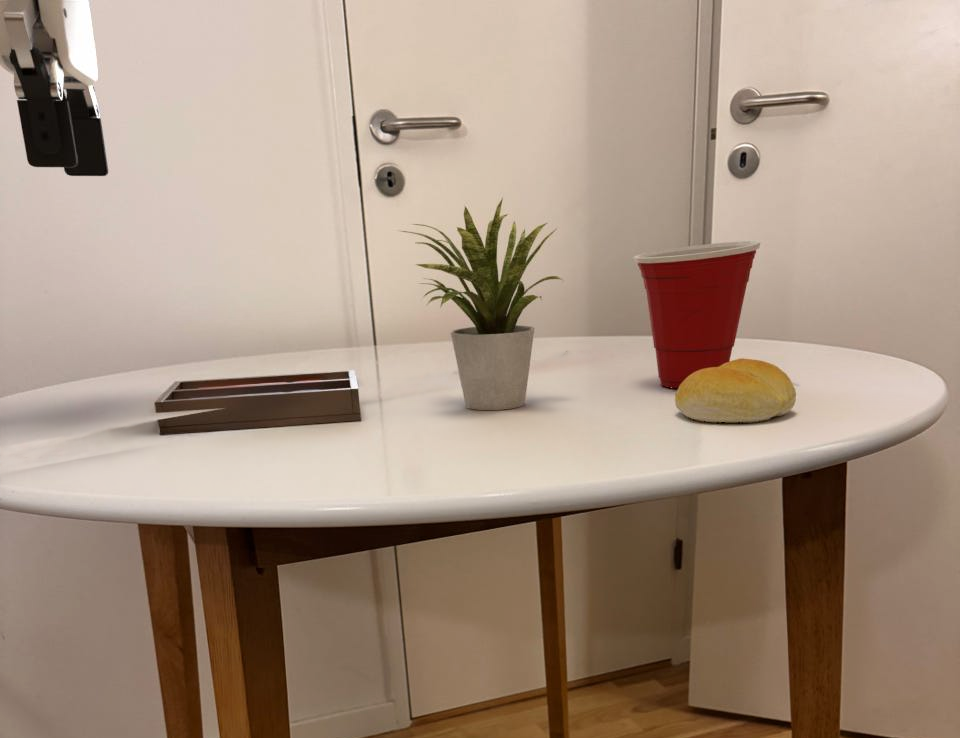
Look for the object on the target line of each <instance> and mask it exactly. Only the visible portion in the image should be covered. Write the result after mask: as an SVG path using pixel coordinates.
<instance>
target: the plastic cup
mask: <svg viewBox="0 0 960 738" xmlns="http://www.w3.org/2000/svg"><path fill="white" fill-rule="evenodd" d="M760 246H761V241H756V240H750V241H749V240H747V241H745V240H744V241H730V242H717V243H706V244H697V245H689V246H681V247H675V248H674V247H673V248H668V249H662V250H661V249H660V250H656V251H655V250H654V251H649V252H646V253H640V254H638V255H635V256H633V257H632V258H633V262H634V263H637V266H638V268H639V270H640V275H641V278H642V280H643V285H644V289H645V291H646V300H647V306H648V307H647V308H648V312H649V314H648V315H649V320H650V327H651V335H652V342H653V348H654V349H655V356H656V366H657V374H658V375H657V376H658V378H659V380H660V385H661V387H663V386H665V387H664V388H667V387H672V388H671V389H673V388H679V386H680V384H681V383H682V382H683V381H684V380H685V379H686V378H687V377H688V376H689V375H691V374H692V373H694V372H696V371H698V370H701V369H704V368H711V367H719V366H721V365H722V364H724V363H727V362H730V361H731V356H732V351H733V347H734V346H735V342H736V339H737V334H738V328H739V323H740V319H741V314H742V310H743V304H744V300H745V295H746V290H747V287H748V283H749V281H750V275H751V269H752V268H753V264H754V259H755V256H756V254H757V250H759V249H760Z"/></svg>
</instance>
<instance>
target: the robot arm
mask: <svg viewBox="0 0 960 738" xmlns="http://www.w3.org/2000/svg"><path fill="white" fill-rule="evenodd" d="M0 67H2V68H3V69H4V70H5V71H7V73H9V74H11V75H13V87H14V92H15V96H16V97H17V100H16V103H17V109H18V114H19V121H20V126H21V132H22V138H23V144H24V148H25V149H24V150H25V156H26V160H27V163H28V165H30V166H32V167H33V168H63V171H64V173H65V174H66V175H67V176H70V177H107V176H108V174H109V166H108V159H107V152H106V144H105V137H104V131H103V125H102V118H101V117H100V110H99V109H100V108H99V105H98V102H97V98H96V93H95V91H96V90H95V87H94V85H95V83H96V82H97V81H98V78H99V72H98V71H99V70H98V60H97V52H96V43H95V35H94V29H93V23H92V15H91V9H90V3H89V0H0ZM65 92H66V93H65Z"/></svg>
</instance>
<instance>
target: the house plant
mask: <svg viewBox="0 0 960 738" xmlns="http://www.w3.org/2000/svg"><path fill="white" fill-rule="evenodd" d="M503 198H504V197H503V196H502V198H501V200H500V201H499V203H498V204H497V206H496V209H495V212H494V216H493V219H491V220H490V221H489V222H488V224H487V230H486V236H485V243H484V242H483V240H482V237H481V234H480V233H479V231H478V229H477V227H476V225H475V223H474V220H473V217H472V215H471V213H470V211H469V209H468V208H467V207H466V206H464V209H463V220H464V225H465V228H462V227H458V226H456V231H457V233H458V234H459V235H460V238H461V249H462V251H463V253H464V255H465V257H466V260H467V261H468V263H469V265H470V267H469V266H468V263H467V261H466V260H465V258H464V256H463V254H462V253H461V251H460V250H459V249H458V248H457V246H456V245H455V244H454V242H453V241H452V240H451V239H450V238H449V236H447V234H445V233H444V232H443V231H441V230H439V229H437V228H436V227H434V226H430V225H427V224H418V223H412V225H414V226H420V227H421V226H422V227H427V228H431V229H433V230H435V231H436V232H438V234H440V235H442V237H443V238H444V239H445V240H443V239H436V238H434V237H431V236H429V235H426V234H423V233H419V232H414V231H407V230H401V232H403V233H407V234H408V233H409V234H414V235H417V236H421V237H424V238H426V239H427V240H429V241H432V242H433V243H434V244H432V243H430V242H423V241H419V242H416V244H417V245H418V244H420V245H421V244H422V245H426V246H428V247H429V248H431V249H433V250H434V251H435V252H437V253H438V254H439V255H440V256H441V257H442V258H443V259H444V260H445V262H447V264H443V263H442V264H441V263H417V264H415V266H419V267H421V268H424V269H429V270H437V271H442V272H444V273H447V274H449V275H452V276H455V277H457V278H458V280H459V282H460V283H461V286H463V288H464V290H465V291H458V290H457V289H455V288H453V287H447V286H446V285H444V284H443V283H442V282H441V281H438V280H437V279H433V278H428V280H430V281H433V282H434V283H429V282H428V283H423V282H422V283H419V282H418V284H420V285H430V286H435V287H436V288H433V289H432V290H429V291H427V292H426V293H425V294H424V295H423V297H426V296H428V295H429V294H431V293H433V292H436V291H442V292H443V293H445V294H443V295H436V296H435V295H434V296H433V297H431V298H430V299H429V301H428V302H427V304H426V306H428V305H429V304H430V303H431V302H433V301H436V300H439V299H441V301H440V306H439V309H441V307H443V305H444V304H445V303H447V302H448V301H450V300H451V301H453V302H454V304H456V305H457V306H458V307H459V309H460V310H461V311H462V312H463V313H464V314H465V316H466V317H468V319H469V320H470V321H471V322H472V323H473V325H474V326H470V327H464V328H463V327H461V328H457V329H453V330H451V331H450V337H451V340H452V345H453V350H454V355H455V356H454V357H455V360H456V366H457V370H458V375H459V379H460V385H461V389H462V395H463V399H464V405H465V407H466V408H468V409H472V410H477V411H500V410H510V409H515V408H516V409H517V408H520V407H522V406H524V405H525V403H526V397H527V390H528V383H529V382H528V381H529V373H530V365H531V359H532V350H533V343H534V342H533V341H534V336H535V328H534V326H529V325H521V324H520V325H519V324H518V325H517V323H518V320H519V318H520V317H521V315H522V313H523V311H524V310H525V309H526V307H528V305H530V304H531V303H532V302H534V301H535V300H536V299H538V298H539V299H540V301H543V300H542V297H543V295H540V296H538V295H535V294H529V295H526V293H528V292H529V290H531V289H532V288H534V287H535V286H537V285H538V284H540V283H543V282H545V281H550V280H561V281H563V278H561V277H560V276H557V275H556V276H555V275H551V276H545V277H543V278H541V279H539V280H538V281H536V282H535V283H532V285H530V286H528V288H526V287H525V284H524V283H523V282H522V281H521V279H522V278H523V275H524V273H525V272H526V270H527V267H528V266H529V265H530V263H531V261H532V260H533V259H534V258H535V256H536V255H537V254H538V252H539V251H540V249H541V248H542V246H543V245H544V244H545V242H546V241H547V240H548V239H549V238H550V237H551V236H552V235H553V233H554V232H556V230H558V227H556V228H555V229H554V230H552V232H550V233H549V234H547V235H546V236H545V237H544V239H542V241H541V242H540V243H539V244H538V246H537V247H536V248H535V249H534V251H533V252H532V253H530V250H531V248H532V246H533V245H534V243H535V240H536V238H537V237H538V235H539V233H540V232H541V230H543V228H544V227H545V226H546V225H547V224H548V223H549V221H547V222H545V223H544V224H540V225H538V226H537V227H536V228H534V229H533V230H532V231H531V232H530V233H529V234H527V236H526V229H525V227H524V228H523V231H522V232H521V234H520V238H519V240H518V242H517V244H516V239H517V225H516V221H515V220H514V221H513V223H512V226H511V230H510V232H509V236H508V241H507V247H506V251H505V255H504V259H503V263H502V267H501V268H502V270H501V275H500V280H499V269H498V241H499V232H500V229H501V226H502V222H503V220H504V218H506V217H507V216H508V215H509V213H508V214H503V215H501V211H502V204H503ZM396 231H398V232H399V230H396ZM442 242H444V243H446V244H449V246H450V248H451V249H450V248H449V247H447V246H446V245H445V244H444V243H442ZM435 244H436V245H435ZM515 245H516V247H515ZM438 246H439V247H440V248H439V247H438ZM514 248H515V249H514ZM444 251H445V252H444ZM513 252H514V253H513ZM446 253H447V254H448V255H449V256H450V257H451V258H452V259H453V260H454V261H455V262H456V264H457V265H458V266H456V265H455V263H454V262H453V261H452V259H451V258H450V257H449V256H448V255H447V254H446ZM529 253H530V255H529ZM422 279H424V280H426V278H424V277H423V278H422ZM466 281H468V282H470V283H471V285H472V287H473V288H474V290H475V292H476V293H475V292H474V291H471V290H470V288H469V286H468V284H467V282H466ZM465 295H466V296H467V297H468V298H469V299H468V298H467V297H466V296H465ZM422 300H423V299H421V301H422ZM421 301H420V302H421ZM471 302H472V303H471Z"/></svg>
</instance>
